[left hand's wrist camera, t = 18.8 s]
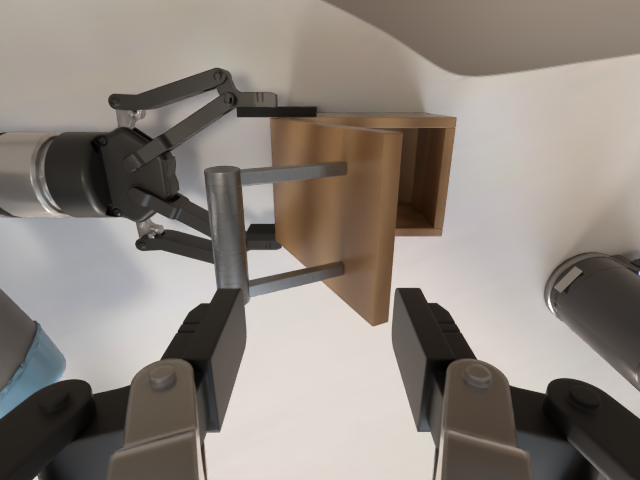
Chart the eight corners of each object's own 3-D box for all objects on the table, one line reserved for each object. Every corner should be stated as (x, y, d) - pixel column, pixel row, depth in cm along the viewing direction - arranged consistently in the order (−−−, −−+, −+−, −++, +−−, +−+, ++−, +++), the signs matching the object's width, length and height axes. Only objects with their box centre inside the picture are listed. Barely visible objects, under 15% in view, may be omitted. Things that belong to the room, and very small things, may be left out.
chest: (425, 112, 39) (457, 117, 30) (416, 207, 42) (441, 236, 33) (286, 112, 38) (277, 117, 30) (288, 208, 42) (281, 236, 33)
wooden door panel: (403, 132, 17) (218, 141, 13) (388, 322, 21) (239, 369, 17) (282, 117, 29) (169, 120, 26) (286, 238, 33) (187, 255, 29)
